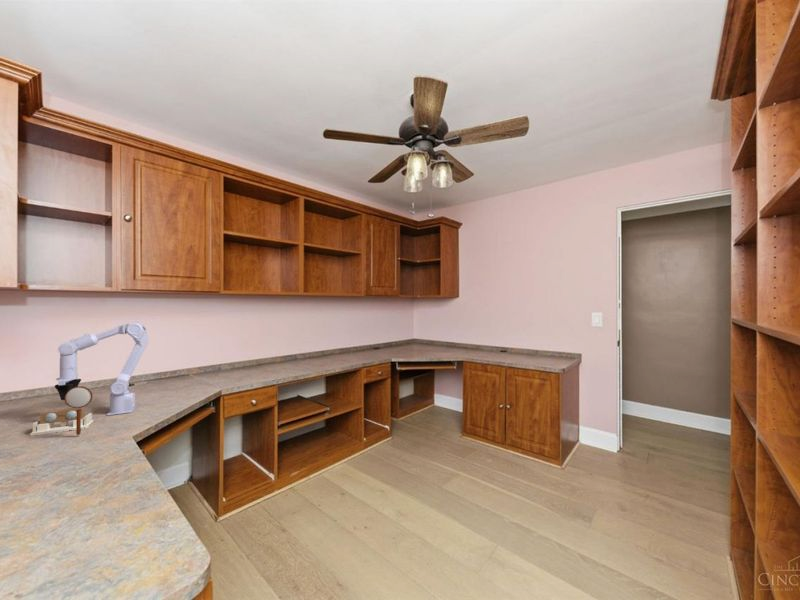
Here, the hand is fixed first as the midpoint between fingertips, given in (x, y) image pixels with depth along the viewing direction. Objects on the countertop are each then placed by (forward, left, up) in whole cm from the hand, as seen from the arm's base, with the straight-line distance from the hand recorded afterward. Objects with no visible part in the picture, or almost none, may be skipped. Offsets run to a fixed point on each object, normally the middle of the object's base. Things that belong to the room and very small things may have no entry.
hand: (68, 397), depth 153 cm
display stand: (-3, +14, -10) cm, 17 cm away
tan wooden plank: (-3, +14, -6) cm, 16 cm away
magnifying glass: (-12, +28, -10) cm, 32 cm away
